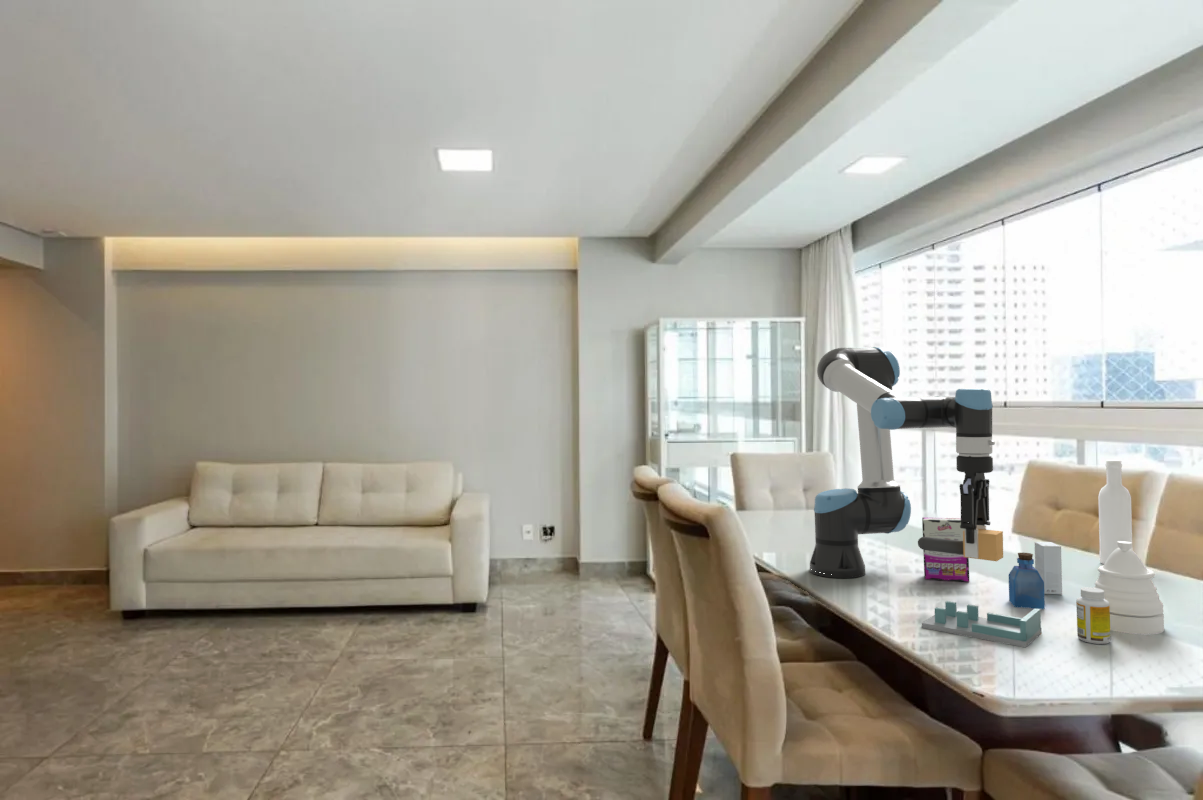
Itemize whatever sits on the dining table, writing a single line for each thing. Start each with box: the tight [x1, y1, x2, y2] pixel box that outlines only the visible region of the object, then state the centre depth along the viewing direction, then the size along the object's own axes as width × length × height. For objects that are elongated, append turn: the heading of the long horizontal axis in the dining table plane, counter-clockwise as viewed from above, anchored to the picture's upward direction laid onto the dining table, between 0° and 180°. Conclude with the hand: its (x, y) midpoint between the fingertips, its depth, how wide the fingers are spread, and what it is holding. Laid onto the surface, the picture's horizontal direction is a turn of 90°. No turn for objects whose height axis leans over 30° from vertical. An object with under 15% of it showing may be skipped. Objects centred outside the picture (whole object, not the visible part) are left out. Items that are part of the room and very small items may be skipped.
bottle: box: [1097, 459, 1134, 565], centre depth 212 cm, size 8×8×30 cm
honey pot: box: [1093, 541, 1165, 635], centre depth 157 cm, size 13×13×18 cm
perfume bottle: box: [1008, 552, 1046, 610], centre depth 173 cm, size 6×6×12 cm
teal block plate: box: [921, 600, 1042, 648], centre depth 155 cm, size 20×12×5 cm, turn 46°
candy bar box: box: [921, 516, 970, 583], centre depth 200 cm, size 11×5×16 cm, turn 68°
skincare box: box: [1034, 541, 1063, 595], centre depth 184 cm, size 6×4×12 cm
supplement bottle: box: [1075, 586, 1112, 645], centre depth 147 cm, size 6×6×10 cm
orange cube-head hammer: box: [917, 529, 1004, 562], centre depth 173 cm, size 18×5×6 cm, turn 46°
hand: (975, 554), depth 170 cm, fingers closed on orange cube-head hammer, 5 cm apart
